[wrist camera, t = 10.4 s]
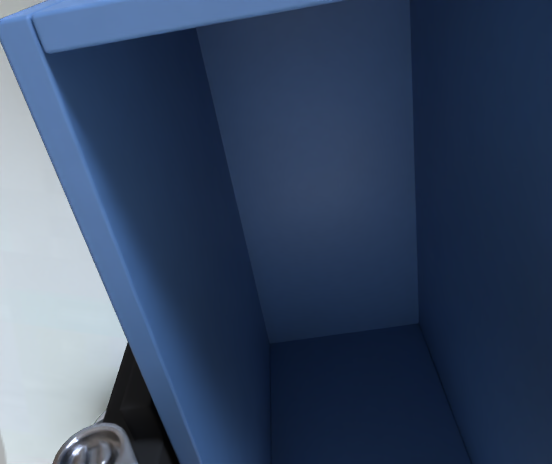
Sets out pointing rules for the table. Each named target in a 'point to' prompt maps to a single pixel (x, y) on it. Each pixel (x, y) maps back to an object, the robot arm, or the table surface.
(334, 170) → the blue bin
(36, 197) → the table surface
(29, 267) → the table surface
